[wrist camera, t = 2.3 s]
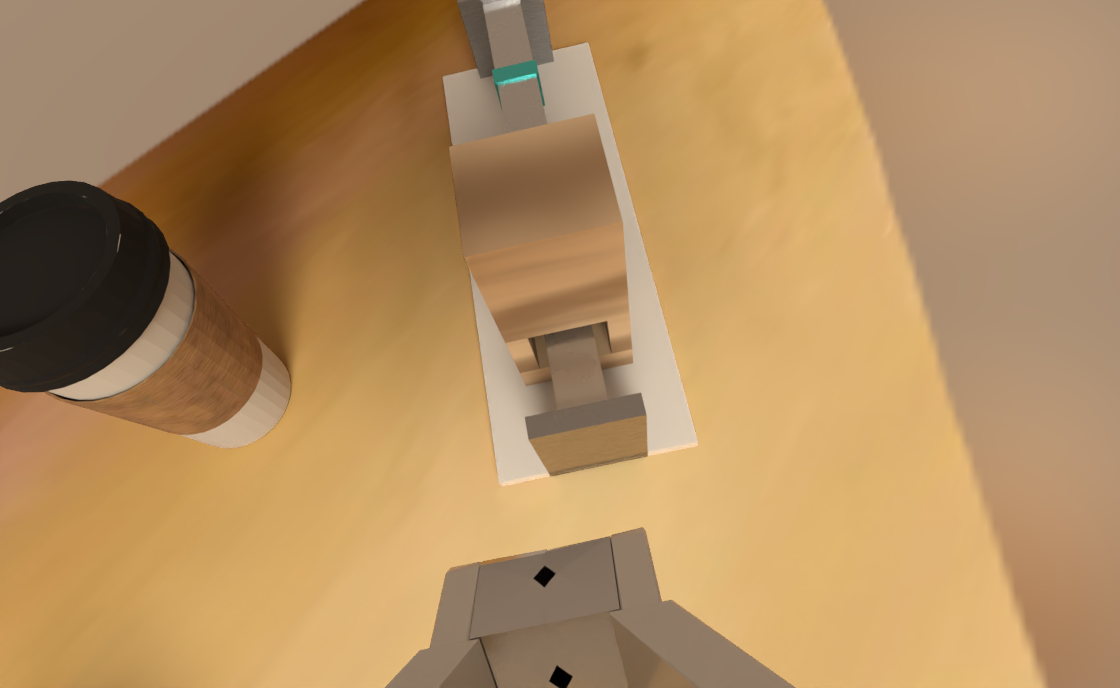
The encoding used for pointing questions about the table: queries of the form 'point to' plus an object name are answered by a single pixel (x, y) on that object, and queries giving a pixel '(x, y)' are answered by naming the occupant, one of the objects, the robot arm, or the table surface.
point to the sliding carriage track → (583, 406)
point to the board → (654, 364)
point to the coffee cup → (126, 322)
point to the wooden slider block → (545, 239)
